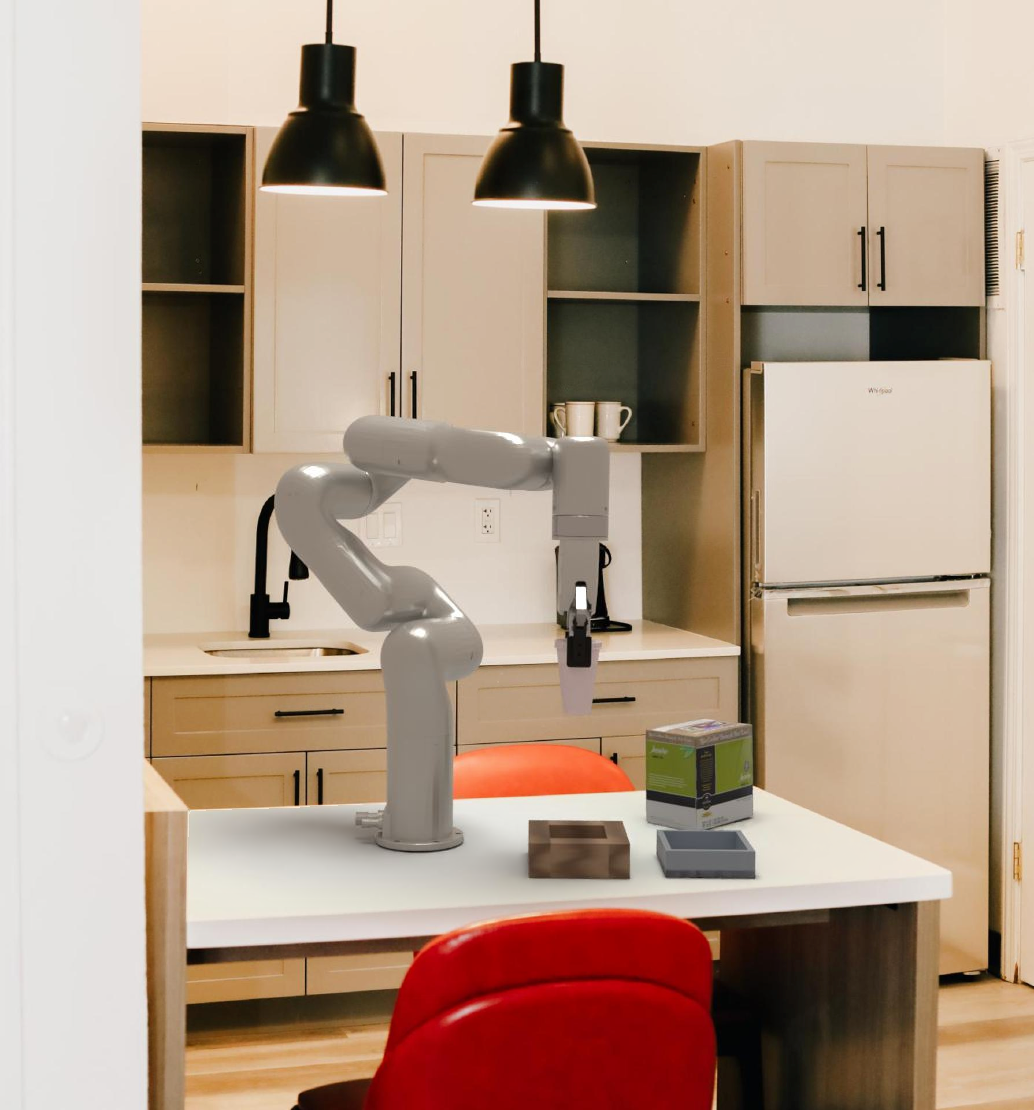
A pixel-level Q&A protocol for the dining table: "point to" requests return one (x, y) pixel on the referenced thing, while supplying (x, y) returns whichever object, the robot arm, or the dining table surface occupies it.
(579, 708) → the smoothie
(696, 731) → the tea box
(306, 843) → the dining table surface
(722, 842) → the tray
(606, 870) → the socket holder
